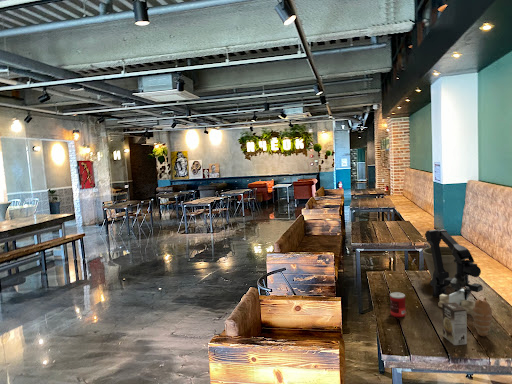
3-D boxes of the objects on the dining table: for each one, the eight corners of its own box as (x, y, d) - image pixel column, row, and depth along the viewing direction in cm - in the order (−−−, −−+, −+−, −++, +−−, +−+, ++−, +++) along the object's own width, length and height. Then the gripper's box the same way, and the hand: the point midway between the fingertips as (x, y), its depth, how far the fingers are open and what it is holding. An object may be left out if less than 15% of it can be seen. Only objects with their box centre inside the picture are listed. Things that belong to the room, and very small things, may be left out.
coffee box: (442, 336, 181) (441, 302, 179) (455, 335, 181) (454, 301, 180) (453, 345, 171) (453, 310, 170) (467, 344, 172) (467, 309, 171)
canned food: (405, 312, 210) (404, 292, 209) (406, 318, 203) (405, 297, 202) (390, 311, 213) (389, 291, 212) (390, 317, 205) (389, 296, 204)
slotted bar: (454, 311, 203) (454, 296, 203) (449, 309, 206) (448, 294, 205) (468, 304, 211) (468, 289, 210) (462, 302, 214) (462, 288, 213)
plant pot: (419, 286, 248) (418, 253, 246) (427, 275, 268) (426, 244, 267) (463, 292, 234) (463, 256, 232) (468, 280, 254) (468, 247, 252)
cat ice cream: (486, 341, 173) (485, 302, 171) (468, 335, 180) (468, 298, 178) (496, 336, 178) (496, 298, 176) (479, 330, 184) (478, 293, 183)
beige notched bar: (438, 306, 215) (438, 295, 215) (444, 303, 218) (443, 293, 218) (475, 317, 199) (475, 305, 198) (481, 314, 202) (481, 302, 201)
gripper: (437, 271, 212) (438, 299, 214) (472, 279, 197) (472, 308, 198) (448, 267, 218) (448, 294, 220) (483, 274, 203) (483, 303, 204)
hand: (462, 299), depth 210 cm, fingers closed on slotted bar, 3 cm apart
